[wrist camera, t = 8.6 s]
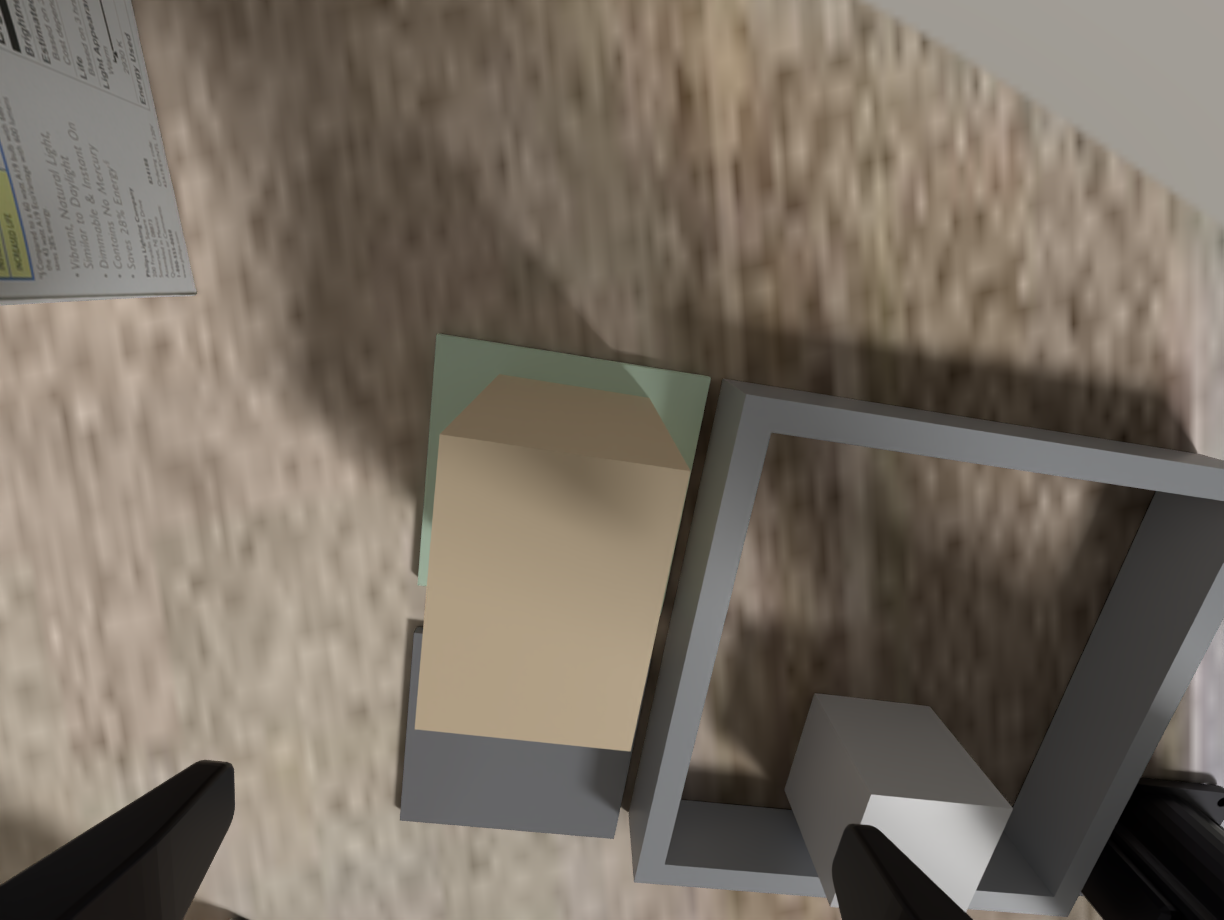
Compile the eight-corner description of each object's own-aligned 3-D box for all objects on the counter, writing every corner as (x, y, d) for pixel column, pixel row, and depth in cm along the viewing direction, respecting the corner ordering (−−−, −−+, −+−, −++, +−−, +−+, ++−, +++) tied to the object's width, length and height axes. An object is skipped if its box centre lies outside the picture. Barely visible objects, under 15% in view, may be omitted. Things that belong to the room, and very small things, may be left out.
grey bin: (1199, 453, 21) (1295, 480, 18) (1015, 848, 26) (1067, 917, 24) (722, 378, 20) (746, 394, 17) (628, 813, 25) (634, 882, 22)
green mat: (708, 376, 20) (711, 377, 19) (659, 609, 22) (661, 614, 22) (439, 333, 19) (436, 334, 18) (420, 579, 21) (417, 585, 21)
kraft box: (649, 397, 19) (690, 471, 12) (614, 583, 21) (630, 751, 14) (499, 374, 19) (439, 434, 11) (477, 566, 21) (414, 729, 13)
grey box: (928, 704, 24) (1013, 808, 19) (892, 799, 25) (963, 917, 21) (813, 691, 24) (871, 794, 19) (783, 788, 25) (830, 906, 20)
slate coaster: (650, 653, 23) (651, 660, 22) (613, 830, 25) (613, 838, 25) (417, 626, 22) (413, 632, 21) (402, 811, 24) (399, 820, 24)
